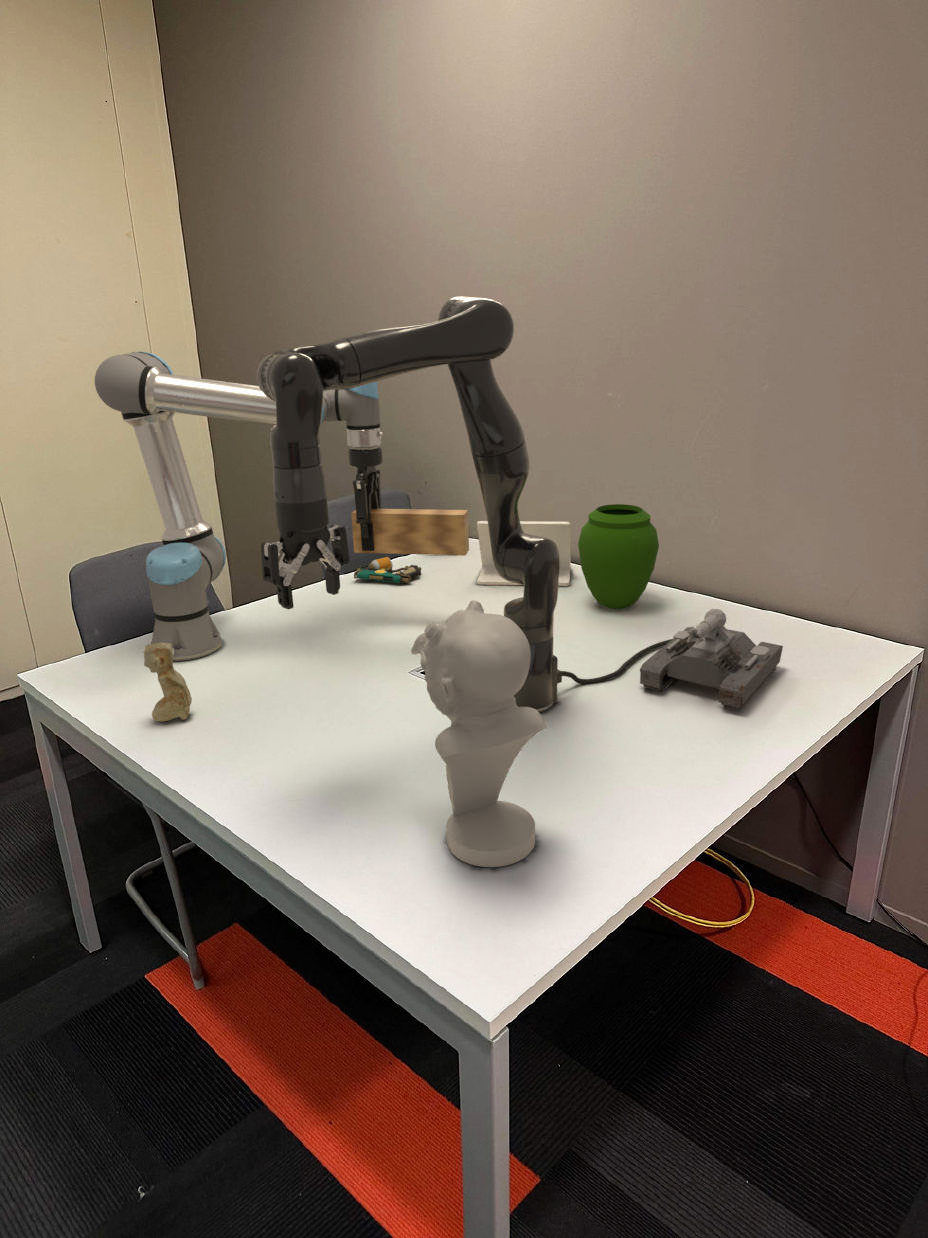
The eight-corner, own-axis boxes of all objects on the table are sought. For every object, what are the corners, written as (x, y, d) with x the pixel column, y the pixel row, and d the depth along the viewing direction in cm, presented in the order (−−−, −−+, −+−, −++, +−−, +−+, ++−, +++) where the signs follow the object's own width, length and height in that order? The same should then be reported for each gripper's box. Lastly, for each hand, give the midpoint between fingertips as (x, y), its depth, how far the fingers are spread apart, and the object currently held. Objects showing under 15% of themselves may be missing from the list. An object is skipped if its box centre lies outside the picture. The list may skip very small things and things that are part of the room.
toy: (687, 648, 187) (692, 583, 181) (780, 668, 176) (788, 599, 170) (638, 690, 168) (641, 619, 162) (739, 715, 157) (746, 640, 151)
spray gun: (428, 577, 242) (397, 594, 230) (381, 565, 250) (348, 581, 238) (428, 563, 240) (396, 579, 228) (380, 552, 248) (348, 567, 237)
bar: (354, 552, 199) (350, 512, 196) (360, 547, 203) (357, 508, 200) (465, 555, 194) (464, 514, 191) (469, 550, 198) (468, 509, 195)
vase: (599, 587, 227) (601, 497, 218) (668, 600, 216) (673, 505, 208) (562, 608, 212) (564, 513, 204) (634, 623, 202) (639, 523, 193)
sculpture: (157, 712, 165) (145, 640, 159) (195, 709, 165) (184, 637, 160) (150, 726, 159) (137, 652, 154) (190, 723, 160) (178, 649, 155)
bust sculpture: (481, 772, 140) (476, 569, 128) (565, 848, 120) (569, 617, 108) (392, 800, 134) (378, 588, 121) (465, 886, 114) (457, 642, 101)
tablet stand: (569, 585, 229) (570, 524, 223) (476, 584, 232) (475, 523, 226) (570, 566, 246) (571, 508, 240) (484, 564, 249) (483, 507, 243)
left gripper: (369, 454, 183) (376, 558, 191) (391, 440, 199) (396, 537, 207) (336, 453, 184) (344, 557, 193) (360, 440, 201) (367, 536, 209)
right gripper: (274, 508, 117) (286, 619, 123) (354, 490, 126) (362, 593, 132) (244, 500, 122) (256, 607, 127) (323, 484, 131) (332, 584, 137)
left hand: (371, 546), depth 200 cm, fingers closed on bar, 5 cm apart
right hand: (310, 600), depth 130 cm, fingers open, 8 cm apart
